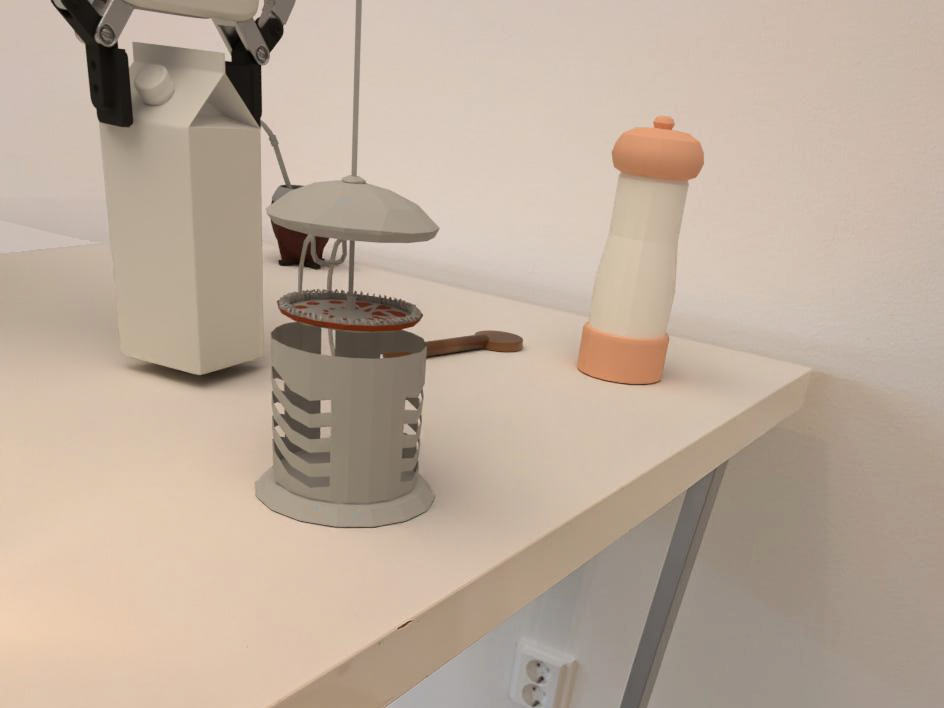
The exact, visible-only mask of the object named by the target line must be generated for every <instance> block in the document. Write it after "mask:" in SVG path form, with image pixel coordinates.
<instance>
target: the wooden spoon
mask: <svg viewBox="0 0 944 708" xmlns="http://www.w3.org/2000/svg"><path fill="white" fill-rule="evenodd" d="M425 343H426V345H427V353H426V358H429V357H435V356H441V355H448V354H453V353H454V354H455V353H461V352H466V351H473V350H479V349H480V350H481V349H484V350H489V351H493V352H503V353H510V352H511V353H512V352H518V351H521V350H522V349H523V347H524V346H523V345H524V339H523V337H522V336H520V335H518V334H515V333H513V332H507V331H502V330H479V331H476V332H475V333H474V334H472V335H471V334H470V335H463V336H459V337H458V336H455V337H450V338H443V339H442V338H441V339H435V340H427V341H425ZM411 354H412V353H411V352H401V351H392V352H389V353H385V354H381V355H382V358H395V357H401V356H407V355H411Z"/></svg>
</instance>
